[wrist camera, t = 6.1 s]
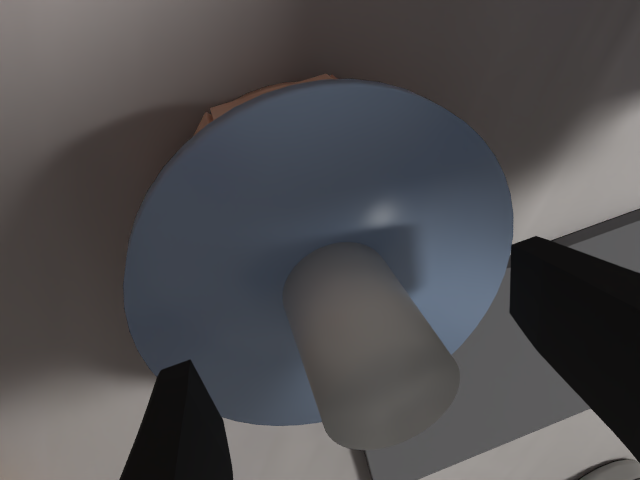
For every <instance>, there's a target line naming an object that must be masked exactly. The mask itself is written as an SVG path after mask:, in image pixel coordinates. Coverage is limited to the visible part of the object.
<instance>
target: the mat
mask: <svg viewBox="0 0 640 480" xmlns="http://www.w3.org/2000/svg"><path fill="white" fill-rule="evenodd" d="M553 242H556V243H558V244H561V245H564V246H567V247H569V248H572V249H575V250H578V251H580V252H583V253H586V254H589V255H591V256H594V257H597V258H599V259H602V260H605V261H607V262H610V263H613V264H616V265H618V266H621V267H624V268H627V269H630V270H632V271H635V272H638V273H640V209H639V210H636V211H633V212H631V213H628V214H625V215H622V216H620V217H617V218H614V219H611V220H609V221H606V222H603V223H600V224H597V225H595V226H592V227H589V228H586V229H584V230H581V231H578V232H575V233H572V234H570V235H567V236H564V237H561V238H559V239H556V240H553ZM510 271H511V256H510V257H509V261H508V264H507V268H506V271H505V275H504V277H503V280H502V282H501V284H500V287H499V289H498V292H497V294H496V296H495V298H494V299H493V301H492V303H491V305H490V307H489V309H488V310H487V312H486V314H485V315H484V317H483V318H482V319H481V321H480V322H479V324H478V325H477V327H476V328H475V329H474V331H473V332H472V333H471V334H470V335H469V337H468V338H467V339H466V340H465V341H464V343H463V344H462V345H461V346H460V347H459V348H458V349H457V350H456V351H455V352H454V353H453V354H452V357H453V358H454V360H455V361H456V363H457V365H458V367H459V371H460V384H459V388H458V391H457V394H456V396H455V398H454V400H453V402H452V403H451V405H450V406H449V408H448V409H447V410H446V411H445V413H444V414H443V415H442V416H441V417H440V418H439V419H438V420H437V421H436V422H435V423H433V424H432V425H431V426H430V427H428V428H427V429H426V430H424V431H423V432H421V433H419V434H418V435H416V436H414V437H412V438H410V439H408V440H406V441H404V442H402V443H399V444H396V445H393V446H390V447H386V448H382V449H375V450H364V452H365V456H366V459H367V463H368V467H369V470H370V474H371V478H372V480H418V479H420V478H423V477H425V476H428V475H430V474H433V473H435V472H437V471H440V470H442V469H445V468H447V467H450V466H452V465H454V464H457V463H459V462H462V461H464V460H467V459H469V458H471V457H474V456H476V455H479V454H481V453H484V452H486V451H488V450H491V449H493V448H496V447H498V446H500V445H503V444H505V443H508V442H510V441H513V440H515V439H517V438H520V437H522V436H525V435H527V434H530V433H532V432H534V431H537V430H539V429H542V428H544V427H547V426H549V425H551V424H554V423H556V422H559V421H561V420H564V419H566V418H568V417H571V416H573V415H576V414H578V413H581V412H583V411H585V410H588V409H590V407H589V406H588V405H587V404H586V403H585V402H584V401H583V399H582V398H581V397H580V396H579V395H578V394H577V393H576V392H575V391H574V390H573V389H572V388H571V387H570V386H569V385H568V384H567V383H566V382H565V380H564V379H563V378H562V377H561V376H560V375H559V374H558V373H557V372H556V371H555V370H554V369H553V368H552V367H551V366H550V364H549V363H548V362H547V361H546V360H545V359H544V358H543V357H542V356H541V355H540V354H539V352H538V351H537V350H536V349H535V348H534V346H533V345H532V344H531V342H530V341H529V340H528V338H527V337H526V336H525V334H524V333H523V332H522V330H521V329H520V327H519V326H518V324H517V323H516V322H515V320H514V319H513V317H512V316H511V314H510V313H509V307H510Z"/></svg>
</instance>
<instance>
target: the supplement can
mask: <svg viewBox="0 0 640 480" xmlns="http://www.w3.org/2000/svg"><path fill="white" fill-rule="evenodd" d="M580 480H640V463H638V462H637V461H633V460H628V459H627V460H621V461H615V462H612V463H610V464H607V465H605V466H602V467H600V468H597V469H596V470H594V471H592V472H591V473H589V474H587V475H585V476H584V477H582V478H581V479H580Z"/></svg>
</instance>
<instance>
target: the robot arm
mask: <svg viewBox="0 0 640 480" xmlns="http://www.w3.org/2000/svg"><path fill="white" fill-rule="evenodd" d="M509 313H510V314H511V316H512V317H513V319H514V320H515V322H516V323H517V324H518V326H519V327H520V329H521V330H522V332H523V333H524V334H525V336H526V337H527V338H528V340H529V341H530V342H531V344H532V345H533V346H534V348H535V349H536V350H537V351H538V352H539V354H540V355H541V356H542V357H543V358H544V359H545V360H546V361H547V362H548V363H549V364H550V366H551V367H552V368H553V369H554V370H555V371H556V372H557V373H558V374H559V375H560V376H561V377H562V378H563V379H564V380H565V382H566V383H567V384H568V385H569V386H570V387H571V388H572V389H573V390H574V391H575V392H576V393H577V394H578V395H579V396H580V397H581V398H582V399H583V401H584V402H585V403H586V404H587V405H588V406H589V407H590V408H591V409H592V410H593V411H594V412H595V413H596V414H597V415H598V416H599V417H600V418H601V420H602V421H603V422H604V423H605V424H606V425H607V426H608V427H609V428H610V429H611V430H612V431H613V432H614V433H615V435H616V436H617V437H618V438H619V439H620V440H621V441H622V442H623V444H624V445H625V446H626V447H627V448H628V449H629V450H630V452H631V453H632V454H633V455H634V457H635V458H636V459H637V460H638V462H639V463H640V273H638V272H635V271H632V270H630V269H627V268H624V267H621V266H618V265H616V264H613V263H610V262H607V261H605V260H602V259H599V258H597V257H594V256H591V255H589V254H586V253H583V252H580V251H578V250H575V249H572V248H569V247H567V246H564V245H561V244H558V243H556V242H553V241H550V240H547V239H544V238H540V237H537V236H535V237H532V238H529V239H527V240H524V241H521V242H518V243H515V244H513V245H511V271H510V307H509ZM120 480H233V471H232V464H231V458H230V453H229V447H228V442H227V437H226V432H225V427H224V422H223V419H222V417H221V415H220V413H219V412H218V410H217V408H216V406H215V404H214V402H213V400H212V398H211V397H210V395H209V393H208V391H207V389H206V387H205V385H204V383H203V382H202V380H201V378H200V376H199V374H198V372H197V370H196V369H195V367H194V365H193V363H192V361H191V359H190V360H187V361H184V362H181V363H179V364H176V365H173V366H170V367H167V368H165V369H162V370H161V371H160V372H159V374H158V376H157V379H156V382H155V385H154V388H153V391H152V394H151V397H150V400H149V403H148V406H147V409H146V412H145V414H144V417H143V420H142V423H141V425H140V428H139V431H138V434H137V436H136V439H135V442H134V444H133V447H132V449H131V452H130V454H129V457H128V460H127V462H126V465H125V467H124V470H123V472H122V475H121V477H120Z"/></svg>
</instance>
